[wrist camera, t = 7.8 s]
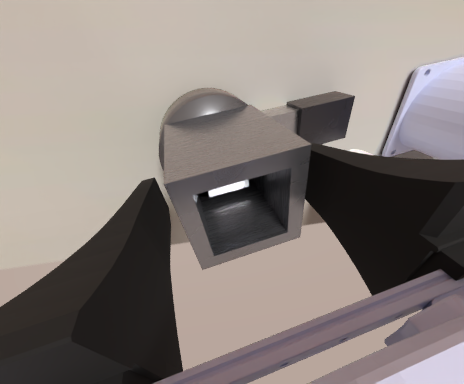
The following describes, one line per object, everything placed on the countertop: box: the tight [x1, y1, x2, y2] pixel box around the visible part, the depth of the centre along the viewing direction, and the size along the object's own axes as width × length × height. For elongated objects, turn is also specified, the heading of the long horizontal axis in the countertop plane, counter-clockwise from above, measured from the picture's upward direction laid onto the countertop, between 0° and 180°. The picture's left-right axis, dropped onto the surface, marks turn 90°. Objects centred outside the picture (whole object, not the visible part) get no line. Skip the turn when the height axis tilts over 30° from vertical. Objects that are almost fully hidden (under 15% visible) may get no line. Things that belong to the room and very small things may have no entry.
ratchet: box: [159, 88, 355, 197], centre depth 13 cm, size 14×7×5 cm, turn 98°
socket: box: [164, 105, 312, 269], centre depth 10 cm, size 5×5×6 cm
